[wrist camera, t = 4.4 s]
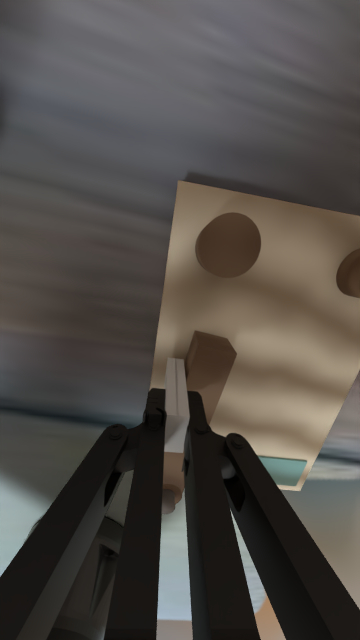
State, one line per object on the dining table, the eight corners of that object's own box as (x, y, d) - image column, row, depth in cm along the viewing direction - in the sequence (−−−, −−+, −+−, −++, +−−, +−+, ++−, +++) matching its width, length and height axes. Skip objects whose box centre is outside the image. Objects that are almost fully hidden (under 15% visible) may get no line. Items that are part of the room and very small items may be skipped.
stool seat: (291, 474, 27) (316, 521, 22) (140, 459, 25) (132, 507, 21) (401, 232, 18) (484, 224, 13) (177, 188, 16) (179, 161, 12)
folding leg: (176, 476, 23) (177, 521, 19) (149, 472, 23) (144, 516, 19) (228, 338, 18) (242, 361, 14) (193, 329, 17) (198, 350, 14)
